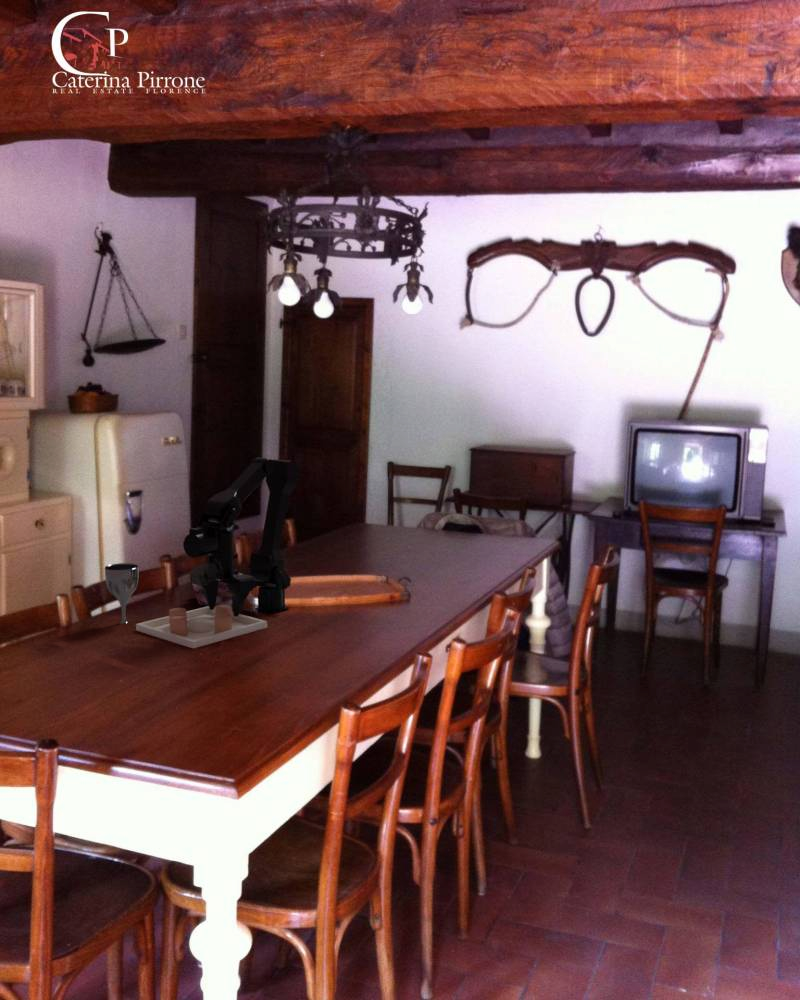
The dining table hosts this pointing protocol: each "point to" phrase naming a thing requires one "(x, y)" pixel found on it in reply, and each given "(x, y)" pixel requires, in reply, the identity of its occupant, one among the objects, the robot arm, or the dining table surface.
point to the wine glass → (122, 582)
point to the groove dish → (201, 628)
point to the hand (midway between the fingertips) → (223, 612)
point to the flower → (222, 594)
